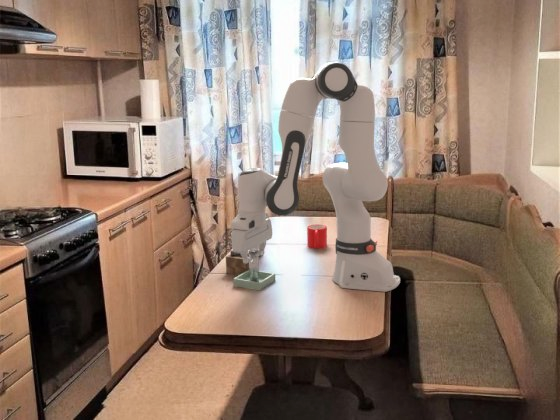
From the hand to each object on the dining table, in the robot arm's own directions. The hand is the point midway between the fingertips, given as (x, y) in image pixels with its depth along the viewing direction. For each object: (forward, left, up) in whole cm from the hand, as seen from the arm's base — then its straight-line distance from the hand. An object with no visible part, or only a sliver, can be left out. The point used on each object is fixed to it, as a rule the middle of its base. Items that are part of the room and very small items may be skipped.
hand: (253, 258), depth 192 cm
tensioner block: (+10, -8, -9) cm, 16 cm away
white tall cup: (+16, -27, -9) cm, 33 cm away
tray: (0, 0, -9) cm, 9 cm away
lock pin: (0, 0, -8) cm, 8 cm away
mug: (-1, -46, -9) cm, 47 cm away
